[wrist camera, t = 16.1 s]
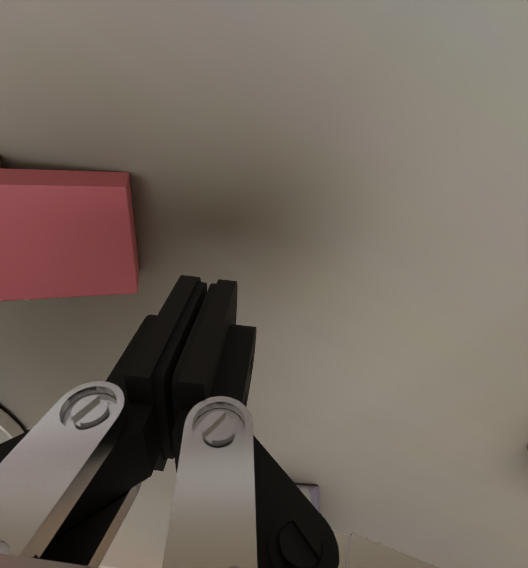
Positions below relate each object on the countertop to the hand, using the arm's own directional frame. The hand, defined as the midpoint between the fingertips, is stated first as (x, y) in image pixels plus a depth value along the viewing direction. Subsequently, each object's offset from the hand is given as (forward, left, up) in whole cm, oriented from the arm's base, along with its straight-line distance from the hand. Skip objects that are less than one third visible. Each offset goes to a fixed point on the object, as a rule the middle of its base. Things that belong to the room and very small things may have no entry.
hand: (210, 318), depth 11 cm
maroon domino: (-4, +2, -6) cm, 7 cm away
